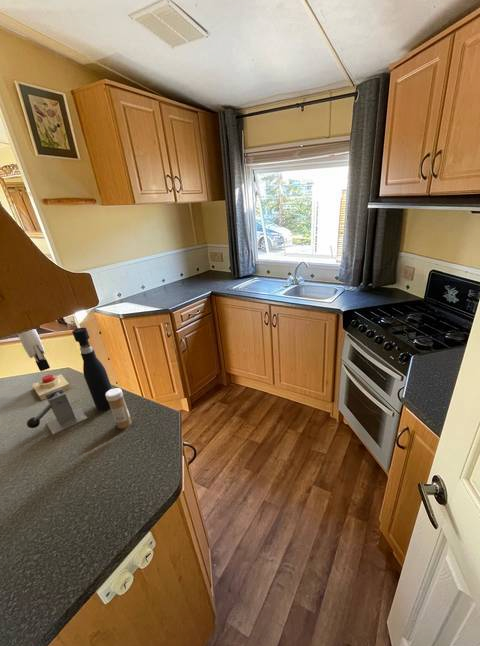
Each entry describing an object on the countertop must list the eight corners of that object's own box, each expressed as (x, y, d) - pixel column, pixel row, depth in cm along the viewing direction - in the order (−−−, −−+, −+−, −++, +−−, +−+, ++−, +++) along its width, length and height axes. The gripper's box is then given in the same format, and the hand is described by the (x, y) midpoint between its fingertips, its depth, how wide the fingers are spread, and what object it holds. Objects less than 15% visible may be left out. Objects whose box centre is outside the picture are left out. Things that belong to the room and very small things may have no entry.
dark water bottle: (121, 405, 104) (94, 328, 91) (103, 415, 99) (73, 335, 86) (111, 399, 107) (84, 324, 94) (93, 409, 102) (63, 331, 89)
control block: (70, 388, 116) (67, 380, 114) (41, 400, 109) (36, 391, 107) (62, 378, 123) (59, 370, 121) (34, 388, 117) (30, 380, 115)
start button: (55, 380, 114) (53, 376, 114) (44, 384, 112) (43, 380, 111) (53, 377, 117) (51, 373, 116) (42, 381, 114) (40, 377, 114)
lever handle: (35, 431, 88) (25, 427, 86) (33, 427, 90) (22, 422, 88) (66, 399, 92) (57, 394, 90) (63, 395, 94) (54, 390, 92)
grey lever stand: (53, 437, 90) (38, 406, 85) (47, 426, 95) (33, 396, 90) (88, 420, 97) (76, 391, 92) (81, 410, 102) (69, 382, 97)
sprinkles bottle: (135, 421, 95) (124, 387, 89) (127, 431, 91) (116, 396, 85) (122, 421, 96) (110, 387, 90) (114, 430, 92) (101, 396, 86)
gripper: (7, 324, 107) (29, 367, 115) (14, 333, 97) (37, 379, 105) (32, 318, 111) (51, 359, 119) (41, 326, 102) (61, 371, 110)
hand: (44, 368), depth 112 cm, fingers closed
